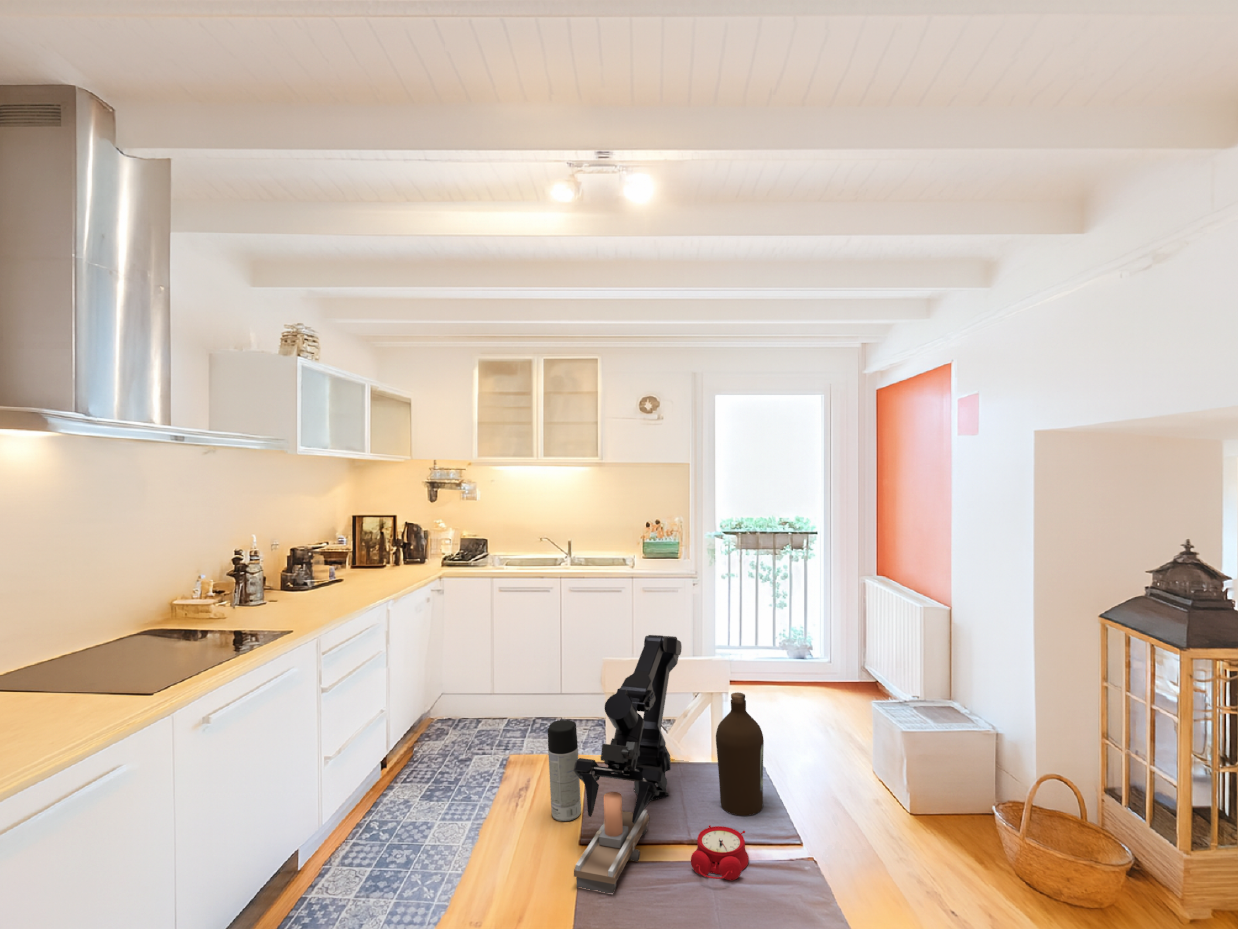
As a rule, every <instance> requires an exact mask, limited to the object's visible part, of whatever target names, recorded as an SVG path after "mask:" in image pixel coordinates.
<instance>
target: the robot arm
mask: <svg viewBox="0 0 1238 929" xmlns="http://www.w3.org/2000/svg"><path fill="white" fill-rule="evenodd" d="M643 642H644V643H643V648H642V651H641V653H640V655H639V658H638V661H637V663H636V665H635V668H634V671H633V673H632V674H630V675H629V676H627V677H625V679H624V680H623V682H622V684H621V686H620V687H619V688H617V689H616V690H617V691H616V693H614V694H612V695H611V696H610V697H608V699H607V700H606V701H605V702H604V712H605V715H606V716H607V718H608V719H609V721H610V722H611V724H612V726H613V728H614V729H615V733H614V736H613V738H611V740H610V743H609V744H608V743H602V744H601V754H600V761H602V762H603V763H604V764H605V765H606V766H601V765H600V766H599V764H598V763H597V762H596V760H595V759H590V758H583V757H578V760H577V761H576V762H575V766H574V770H573V771H574V772H575V773H576V775H577V776H578V777H579V778H580V781H582V782H583V784H584V787H585V792H586V804H587V815H588V817H589V818H591V817H592V816H593V813H594V810H595V806H596V801H597V796H598V791H599V788H600V787H599V786H600V784H599V783H598V781H599V780H600V778H608V779H614V780H623V781H628V782H629V781H631V782H634V783H633V784H634V787H633V791H634V790H635V791H634V792H635V794H637V797H636V799H635V800H636V801H635V805H634V809H633V812H632V813H633V818H632V822H633V824H635V823H636V821H637V820H638V818H639V817H640V815H641V813H642V812H643V810H645V808H646V806H647V805H648V804H649V803H650V802H651V801H655V800H658V798H659V799H662V797H663V798H666V797H669V796H670V792H668V791H667V786H668V778H667V777H666V772H668V771H671V768H672V767H671V755H670V753H669V749H668V748H667V745H666V744H667V743H666V740H665V737H664V735H663V732H662V724H663V719H664V718H663V717H664V711H665V705H666V698H667V697H666V696H667V692H668V684H669V677H670V673H671V672H672V670H673V669H675V667H677V664H678V661H679V656H681V654H682V642H681V641H680V640H678V637H677V636H674V635H673V636H670V635H656V634H648V635H646V636H645V637H644V641H643ZM638 712H643V717H642V715H641V714H640V713H638Z"/></svg>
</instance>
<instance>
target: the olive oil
mask: <svg viewBox="0 0 1238 929" xmlns="http://www.w3.org/2000/svg"><path fill="white" fill-rule="evenodd" d="M730 698H731V699H730V709H731V710H730V711H729V713H728V714H727V715H725V717H724V718H722V720H721V721H720V722H719V724H718V726H717V727H716V728H717V729H716V733H715V744H716V755H717V758H716V759H717V767H718V768H717V770H718V781H719V782H718V784H719V799H720V807H721V808H722V809H723V810H724V811H725V812H727V813H728V814H732V815H734V816H741V817H748V816H753V815H756V814H758V813H760V812H761V811H762V809H763V807H764V792H763V791H764V747H765V746H764V745H765V744H764V743H765V742H764V734H763V731H762V728H761V726H760V725H759V723H758V722H757V721H756V720H755V719H754V718H753V717H752V716H751V715H750V714H749V713H748V712H747V701H746V694H745V693H743V692H732V693H731V694H730Z"/></svg>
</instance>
